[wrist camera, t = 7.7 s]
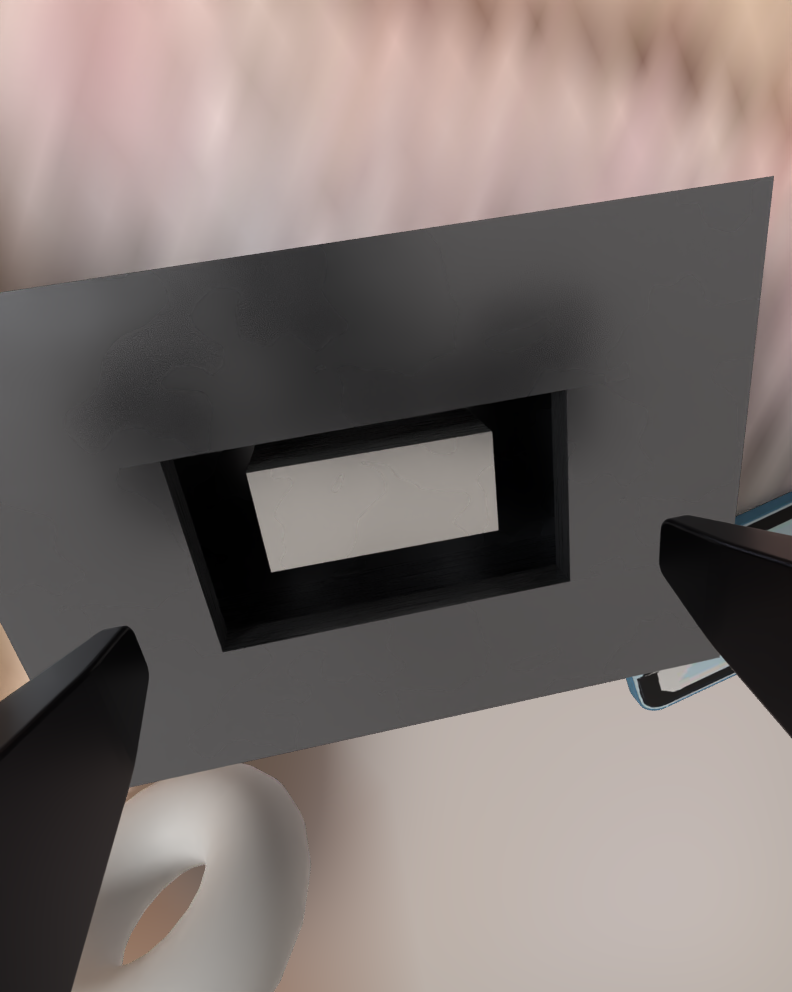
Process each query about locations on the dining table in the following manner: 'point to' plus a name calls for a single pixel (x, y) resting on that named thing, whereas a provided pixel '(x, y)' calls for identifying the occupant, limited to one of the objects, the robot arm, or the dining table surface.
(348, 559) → the cash box
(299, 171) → the dining table surface
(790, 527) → the smartphone
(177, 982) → the donut
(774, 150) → the dining table surface
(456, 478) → the light grey block
